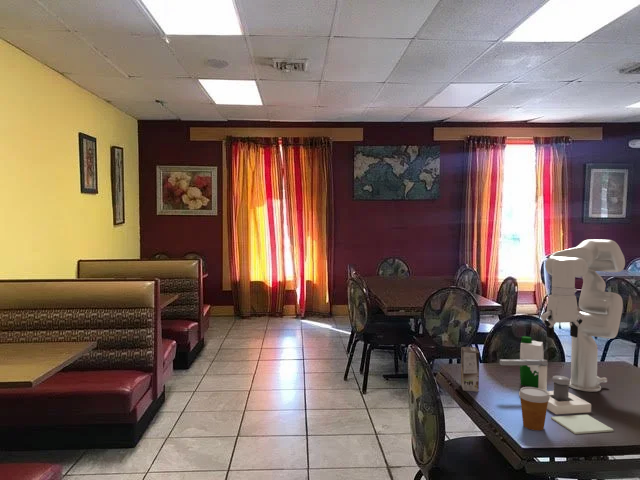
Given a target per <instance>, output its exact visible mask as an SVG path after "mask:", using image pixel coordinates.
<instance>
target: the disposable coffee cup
mask: <svg viewBox="0 0 640 480" xmlns="http://www.w3.org/2000/svg"><path fill="white" fill-rule="evenodd" d="M519 389H520V390H519V392H518V395H519V397H520V407H521V416H522V417H521V418H522V425H523V427H524V428H526V429H528V430H531V431H539V432H540V431H542V430H544V429H545V422H546V416H547V410H548V409H547V405H548V401H549V399H550V397H549V395H548V392H547V391H548V390H547V391H545V390H543V389H539V388H536V387H530V386H525V387H524V386H523V387H521V388H519Z"/></svg>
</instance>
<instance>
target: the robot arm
mask: <svg viewBox="0 0 640 480" xmlns="http://www.w3.org/2000/svg"><path fill="white" fill-rule="evenodd" d="M625 265H626V260H625V255H624V253H623V252H622V250H621V247H620V246H619V244H618V243H617V242H616V241H615V240H612V239H595V238H593V239H591V238H590V239H585V240H582V241H581V242H580V243H579V244H578V245H577V246H575V247H571V248H568V249H564V250H563V249H562V250H560V251H555V252H554V253H552V254H551V255H550V256H549V257H548V258H547V259H546V262H545V270H546V272H547V274H548V275H550V276H551V294H549V296H548V299H547V306H546V307H547V308H546V312H544V313H542V314H540V319H541V321H542V323H543V324H544V325H545V327H546V337H547V338H550V339H555V328H554V326H555V325H556V323H569V329H570V330H569V335H570V336H571V350H570V351H571V352H570V357H571V359H570V360H571V361H570V378H569V379H570V384H569V388H571V389H574V390H577V391H582V392H591V393H592V392H593V393H595V392H600V391H602V386H601V385H600V384H601V383H607V382H608V378H607V377H600V376H598V353H599V352H598V350H599V349H598V348H599V347H598V344H597V343H596V340H595V339H594V338H593V337H595V338H603V339H615V338H616V337H617V336H618V333H619V329H620V323H621V320H622V319H621V318H622V314H623V308H624V302H623V298H622V296H621V295H620V294H618V293H616V292H612V291H611V292H610V291H606V281H605V280H604V279H603V277H602V276H601V275H600V274H599V273H598V272H606V273H607V272H608V273H621V272H622V271H624V268H625ZM576 278H582V282H583V283H582V287H581V290H580V291H581V292H580V295H579V298H578V299H579V300H578V301H577V296H576V295H575V294H576V292H578V289H577V288H576V286H575V285H576V284H575V283H576ZM578 307H579V309H580V310H581V311H579V310H578Z"/></svg>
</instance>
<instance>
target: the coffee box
mask: <svg viewBox="0 0 640 480" xmlns="http://www.w3.org/2000/svg"><path fill="white" fill-rule="evenodd" d="M460 350H461V351H460V356H461V358H460V359H461V360H460V370H461V371H460V385H461V388H462V391H467V392H480V390H479V389H480V388H479V385H480V382H479V381H480V352H479V350H478V348H477V347H475V346H461V348H460Z"/></svg>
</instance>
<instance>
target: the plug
mask: <svg viewBox="0 0 640 480" xmlns="http://www.w3.org/2000/svg"><path fill="white" fill-rule="evenodd" d="M570 379H571V378H569V377H568V376H563V375H554V376H552V383H553V391H554V394H553V399H555V400H557V401H559V402H560V401H568V395H569V393H570V392H569V388H570V387H569V384H570Z"/></svg>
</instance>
